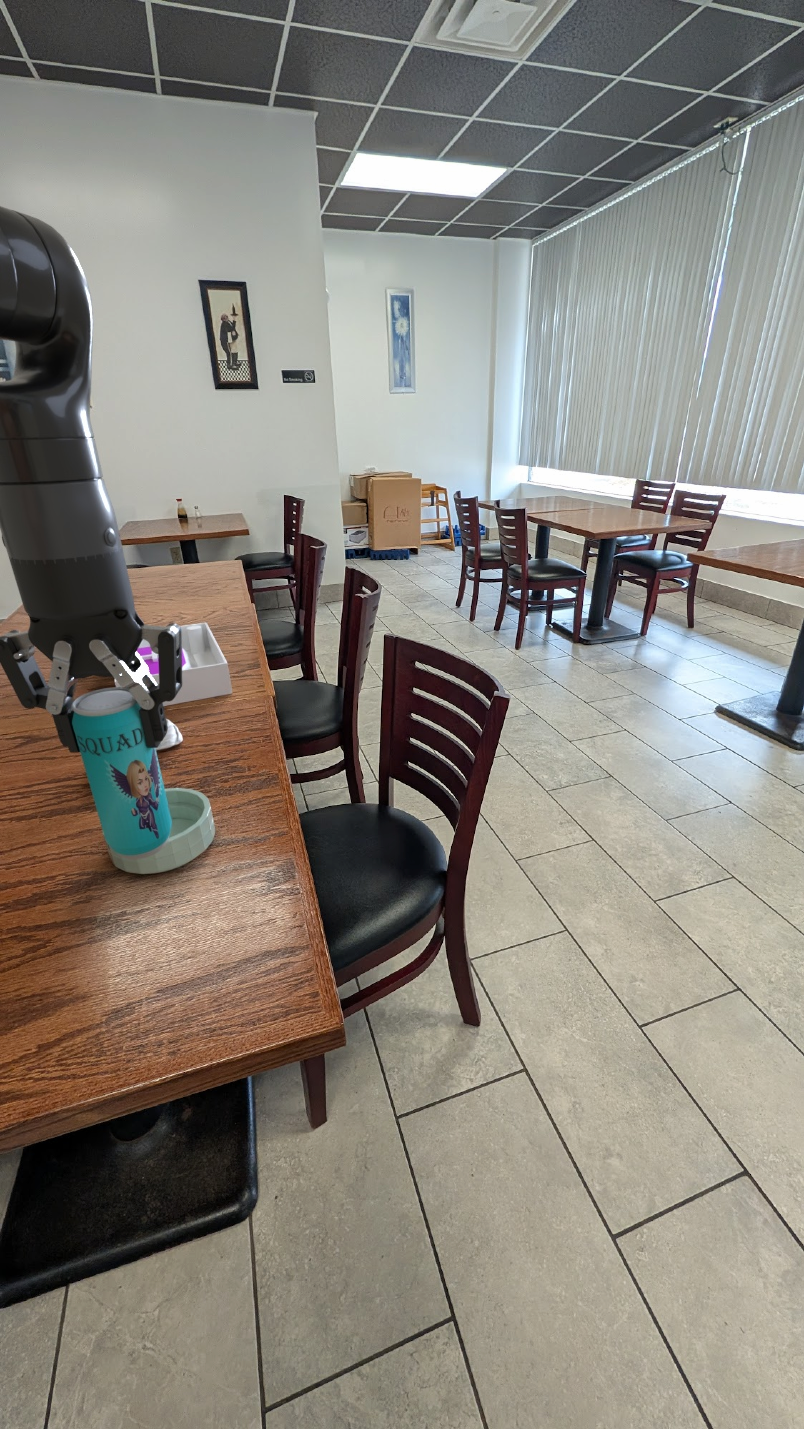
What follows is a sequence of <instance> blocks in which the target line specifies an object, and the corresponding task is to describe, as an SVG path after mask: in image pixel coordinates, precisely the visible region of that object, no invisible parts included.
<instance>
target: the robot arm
mask: <svg viewBox="0 0 804 1429" xmlns="http://www.w3.org/2000/svg"><path fill="white" fill-rule="evenodd" d="M93 337H94V311H93V302H92V295H91V291H90V287H89V283H88V280H87V278H86V274H85V272H84V270H83V267H82V265H81V262H80V260H79V258H78V257H77V255H76V253H75V252H74V250H73V249H72V247H71V246H70V244H69V243H68V242H67V240H66V239H65V237H63V235H62V234H61V233H60V232H59V231H58V230H57V229H56V228H54V227H53V226H52V225H51V224H48V223H47V222H45V221H43V220H42V219H39V218H37V217H34V216H31V215H28V214H26V213H23V212H20V211H16V210H13V209H10V208H7V207H4V206H1V205H0V340H2V341H10V342H14V344H15V359H14V360H15V361H14V362H15V363H14V369H13V374H12V377H11V379H10V380H3V381H0V533H1V540H2V544H3V546H4V548H5V550H6V552H7V557H8V560H9V564H10V566H11V570H12V574H13V576H14V580H15V583H16V586H17V590H18V592H19V596H20V599H21V602H22V606H23V610H24V611H25V613H26V614H27V615H28V618H29V628H28V630H24V631H19V630H17V629H12V630H10V631H8V632H6V633H3V634H2V635H0V666H1V668H2V669H3V671H4V673H5V676H6V677H7V679H8V681H9V683H10V685H11V687H12V689H13V691H14V692H15V695H16V697H17V699H18V700H19V703H20V704H21V706H22V707H23V708H25V709H27V710H31V709H35V708H38V709H42V710H46V711H47V712H48V714H51V717H52V719H53V722H54V725H55V726H54V727H55V728H56V733H57V735H58V739H59V742H60V743H61V745H62V746H63V747H64V748H66V747H67V748H68V751H69V752H70V753H71V754H75V753H76V754H77V753H80V749H79V746H78V743H77V739H76V736H75V732H74V729H73V725H72V719H73V715H74V711H73V709H72V703H73V701H74V700H75V694H76V691H77V686H78V682H79V680H81V679H87V678H90V677H93V676H95V677H101V678H113V679H114V680H115V679H116V681H117V682H118V683H119V685H120V686H121V687H122V688H123V689H125V690H128V691H129V692H130V694H131V695H132V696H133V698H134V699H135V700H136V701H137V703H138V704H139V705H140V707H141V709H140V710H139V714H140V718H141V722H142V727H143V731H144V735H145V739H146V744H147V747H148V748H157V747H158V746H159V744H160V743H161V741H163V739H164V737H165V736H166V734H167V730H168V726H167V723H166V719H167V718H166V712H165V708H164V706H163V702H165V701H172V700H173V699H174V698H175V696H176V695H177V693H178V692H179V690H180V689H181V687H182V635H181V628H180V626H181V625H179V624H178V623H175V622H169V623H168V624H167V625H166V626H162V625H161V626H160V625H153V624H145V622H144V621H143V620H142V618H141V617H140V616H139V614H138V612H137V610H136V606H135V599H134V595H133V590H132V584H131V580H130V576H129V571H128V567H127V562H126V557H125V553H124V549H123V544H122V539H121V535H120V531H119V526H118V525H119V524H118V520H117V516H116V513H115V509H114V506H113V502H112V500H111V497H110V494H109V492H108V489H107V486H106V483H105V479H104V478H103V477H104V475H103V470H102V465H101V461H100V456H99V452H98V448H97V442H96V439H95V433H94V430H93V425H92V422H91V395H92V369H93V368H92V366H93V339H94V338H93ZM143 639H144V640H146V641H148V643H149V644H150V647H151V650H152V651H153V652H154V653H156V654H158V660H159V684H157V683H156V681H155V680H154V679H153V677H152V676H151V675H150V673H149V668H148V666H147V665H146V663H145V662H144V661H143V659H142V658H141V656H140V655H139V654H138V652H137V649H138V647H139V646H140V644H141V642H142V640H143ZM35 648H36V649H37V650H38V651H39V652H41V653H42V654H43V655H44V656H45V657H46V658H47V659H48V660H50V661H51V662H52V663H51V668H50V672H49V677H48V681H46V679H45V677H44V674H43V673H42V670H41V669H40V666H39V665H38V662H37V661H36V659H35V656H34V655H35V653H36V649H35ZM127 666H128V667H127Z"/></svg>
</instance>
